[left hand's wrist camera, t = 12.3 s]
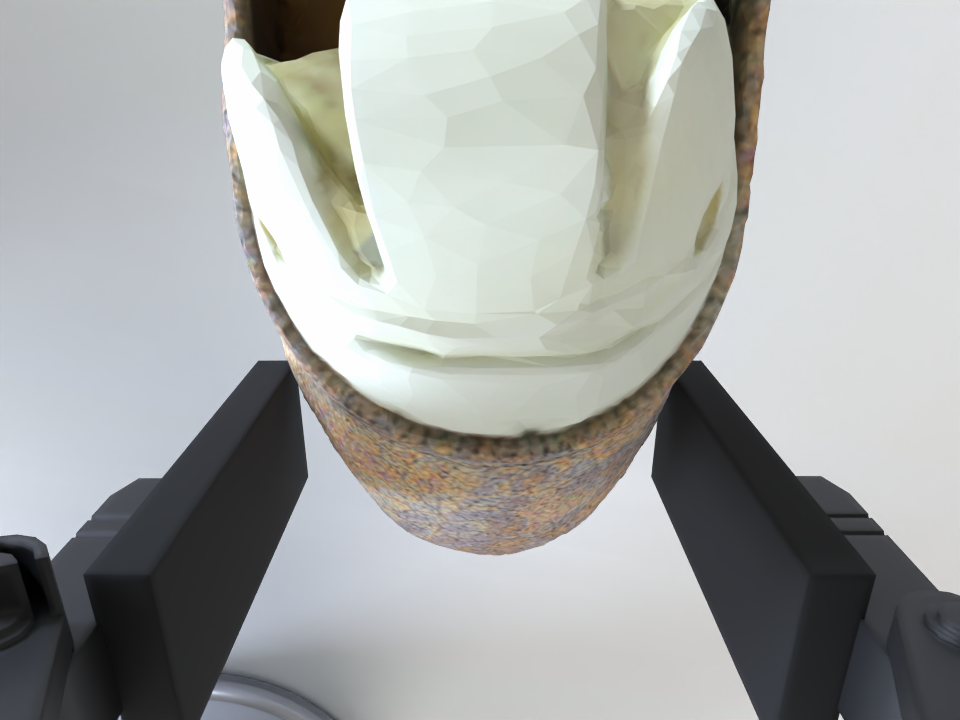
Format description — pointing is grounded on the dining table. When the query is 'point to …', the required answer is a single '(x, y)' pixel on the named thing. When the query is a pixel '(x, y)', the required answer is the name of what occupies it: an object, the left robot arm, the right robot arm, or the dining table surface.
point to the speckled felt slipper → (491, 233)
